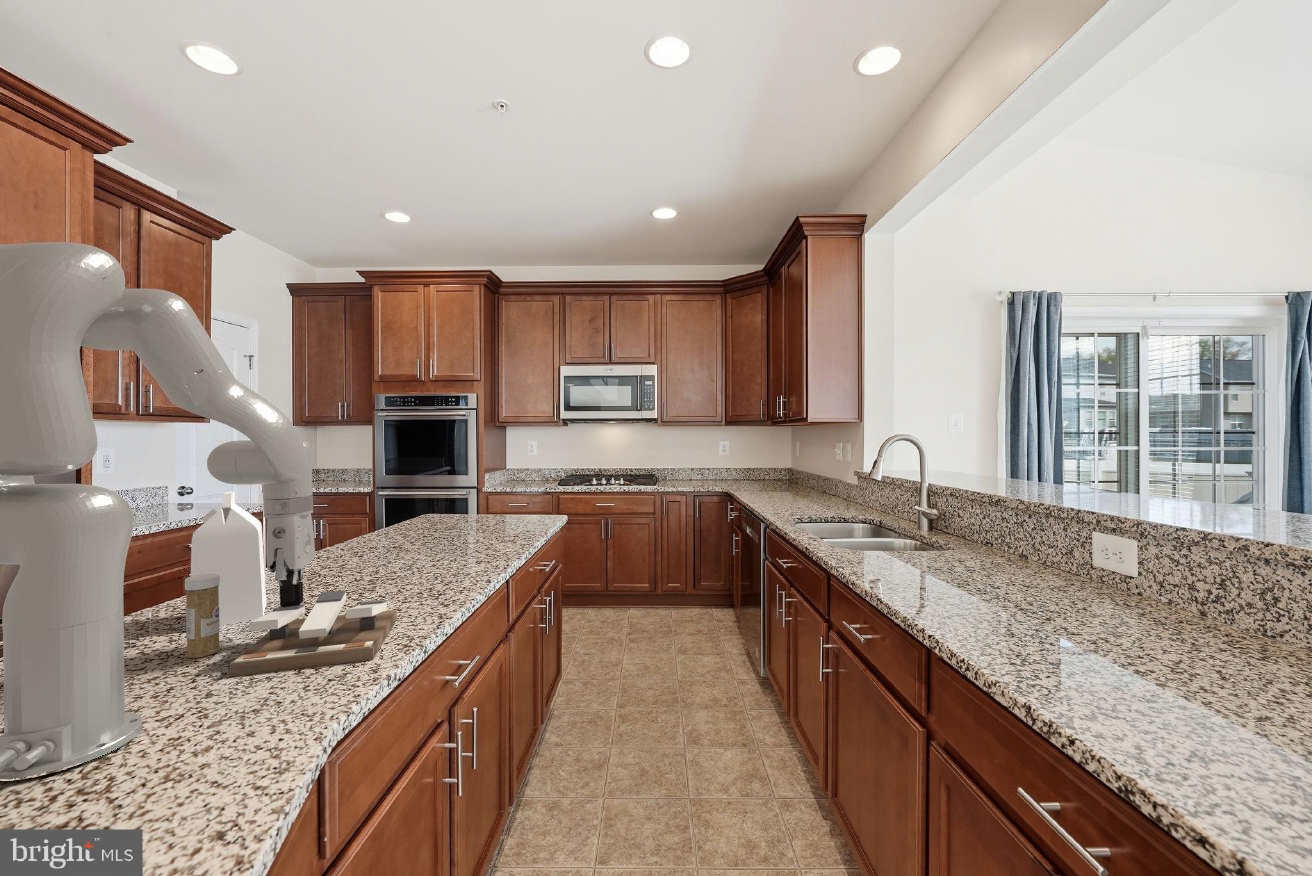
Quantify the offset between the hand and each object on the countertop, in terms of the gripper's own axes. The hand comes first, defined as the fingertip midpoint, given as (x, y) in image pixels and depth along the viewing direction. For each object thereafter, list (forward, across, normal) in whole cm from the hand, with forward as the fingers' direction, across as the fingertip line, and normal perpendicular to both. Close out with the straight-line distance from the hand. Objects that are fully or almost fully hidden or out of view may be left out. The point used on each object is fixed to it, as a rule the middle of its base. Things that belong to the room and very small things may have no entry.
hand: (291, 604), depth 97 cm
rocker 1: (0, -6, 0) cm, 6 cm away
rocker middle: (+1, -6, -7) cm, 9 cm away
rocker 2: (+1, -6, -14) cm, 15 cm away
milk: (+7, +17, +17) cm, 25 cm away
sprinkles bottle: (+6, -4, +12) cm, 14 cm away
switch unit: (+6, -6, -7) cm, 11 cm away
